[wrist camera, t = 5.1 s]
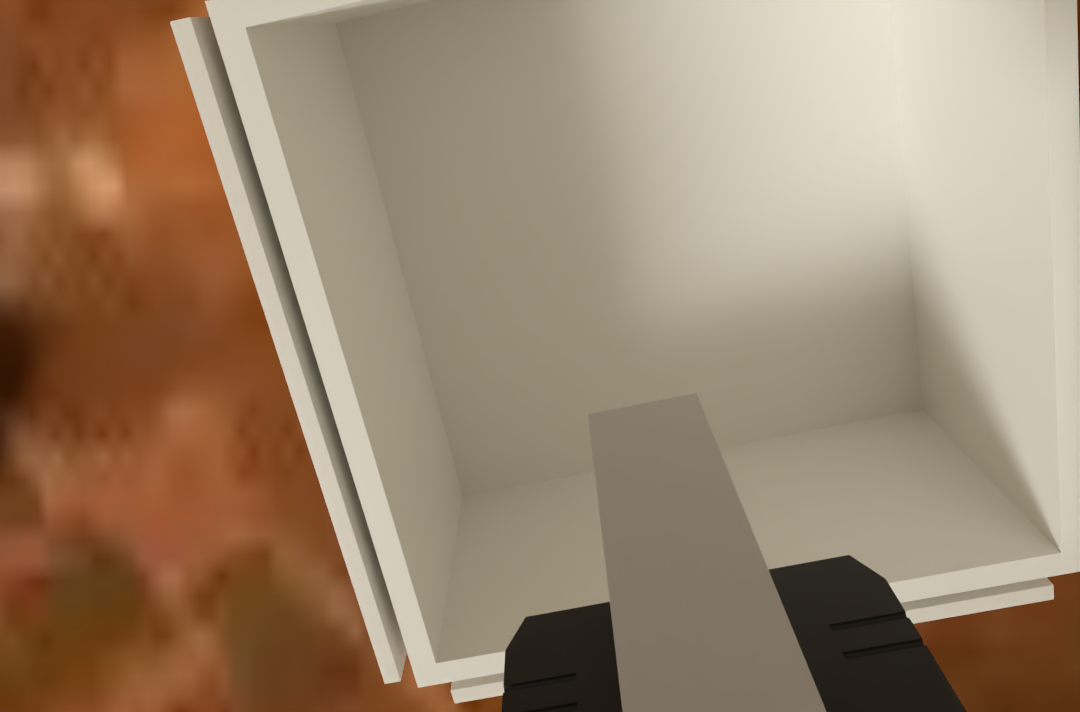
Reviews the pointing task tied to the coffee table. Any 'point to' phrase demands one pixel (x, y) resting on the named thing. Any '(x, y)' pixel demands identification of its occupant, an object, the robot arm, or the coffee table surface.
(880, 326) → the white open box
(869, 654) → the robot arm
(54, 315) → the coffee table surface
